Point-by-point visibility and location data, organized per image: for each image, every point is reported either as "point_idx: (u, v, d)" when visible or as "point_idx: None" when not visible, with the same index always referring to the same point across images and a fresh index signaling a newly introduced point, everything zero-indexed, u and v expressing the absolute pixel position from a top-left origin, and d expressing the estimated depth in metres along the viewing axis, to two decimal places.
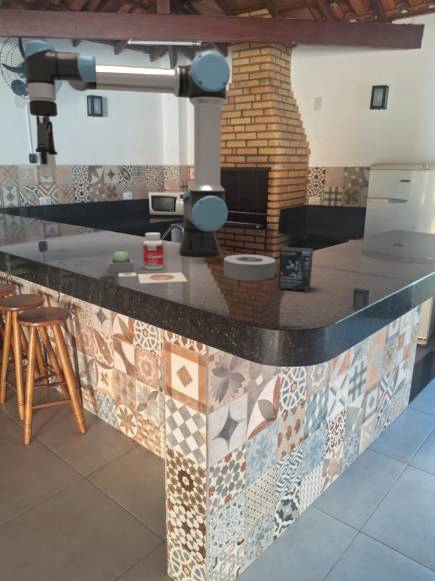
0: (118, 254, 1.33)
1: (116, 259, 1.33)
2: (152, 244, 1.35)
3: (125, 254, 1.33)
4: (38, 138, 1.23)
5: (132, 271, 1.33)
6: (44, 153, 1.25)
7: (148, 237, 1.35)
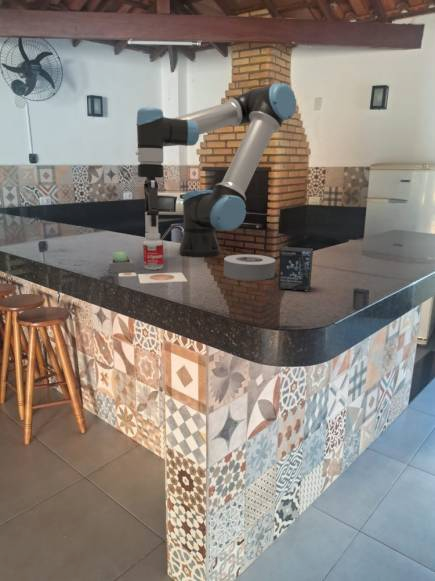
0: (118, 254, 1.33)
1: (116, 259, 1.33)
2: (152, 244, 1.35)
3: (125, 254, 1.33)
4: (150, 202, 1.26)
5: (132, 271, 1.33)
6: (154, 216, 1.28)
7: (148, 237, 1.35)
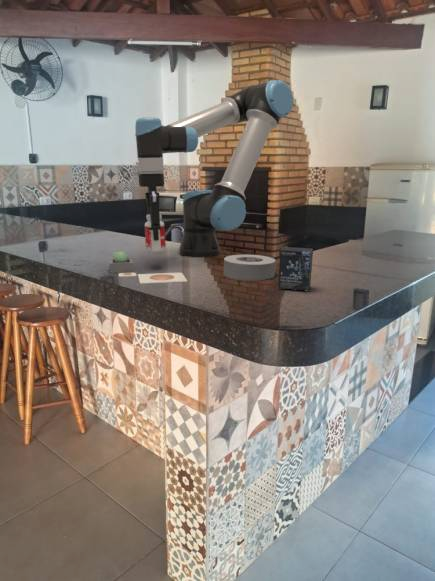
0: (118, 254, 1.33)
1: (116, 259, 1.33)
2: None
3: (125, 254, 1.33)
4: (152, 218, 1.30)
5: (132, 271, 1.33)
6: (156, 231, 1.33)
7: (149, 218, 1.34)
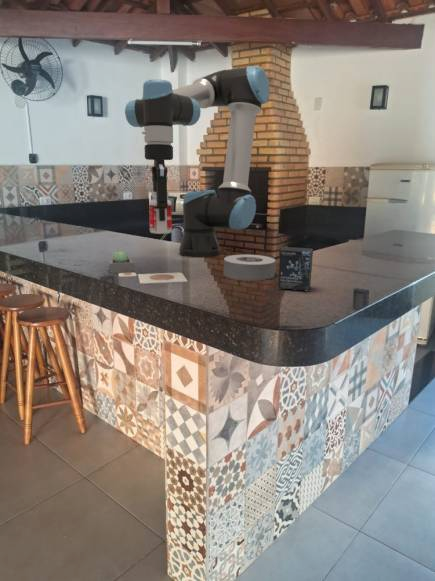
0: (118, 254, 1.33)
1: (116, 259, 1.33)
2: None
3: (125, 254, 1.33)
4: (159, 194, 1.14)
5: (132, 271, 1.33)
6: (163, 210, 1.16)
7: (155, 196, 1.18)
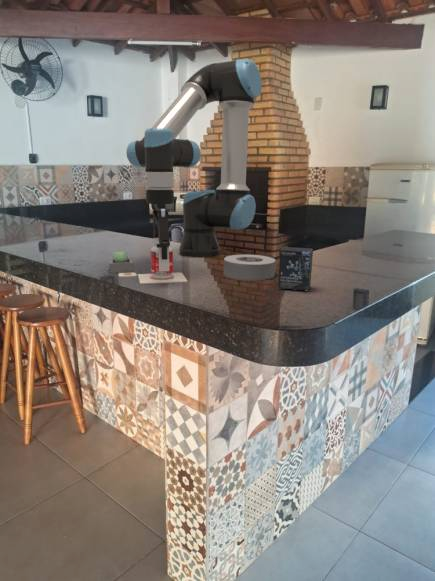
0: (118, 254, 1.33)
1: (116, 259, 1.33)
2: None
3: (125, 254, 1.33)
4: (161, 234, 1.14)
5: (132, 271, 1.33)
6: (165, 248, 1.16)
7: (156, 243, 1.21)
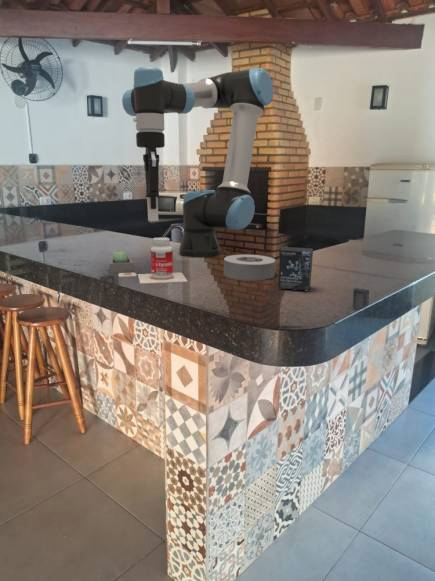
0: (118, 254, 1.33)
1: (116, 259, 1.33)
2: (161, 250, 1.21)
3: (125, 254, 1.33)
4: (150, 184, 1.17)
5: (132, 271, 1.33)
6: (154, 198, 1.21)
7: (156, 243, 1.22)
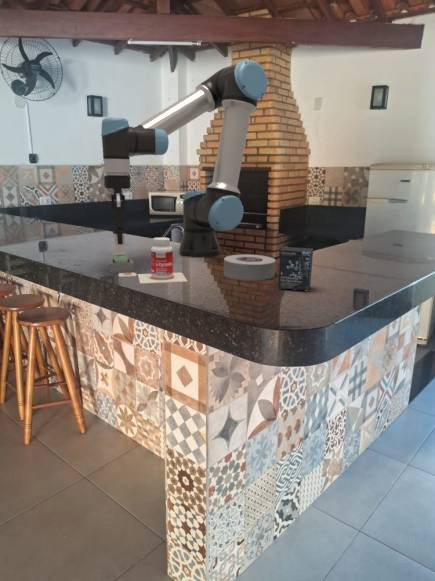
0: (118, 257, 1.33)
1: (116, 262, 1.34)
2: (161, 250, 1.21)
3: (125, 257, 1.34)
4: (116, 223, 1.28)
5: (132, 271, 1.33)
6: (120, 234, 1.31)
7: (156, 243, 1.22)
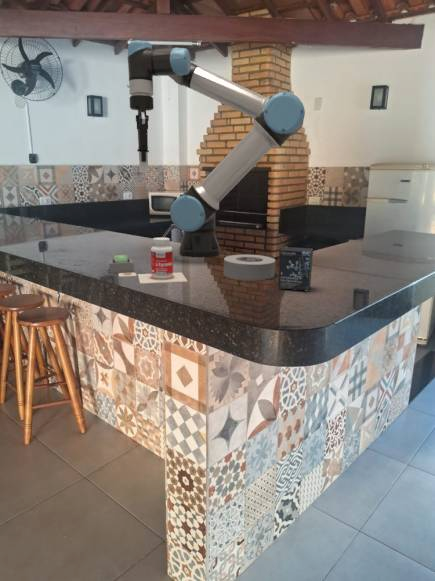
0: (118, 258, 1.33)
1: None
2: (161, 250, 1.21)
3: (125, 258, 1.34)
4: (141, 139, 1.41)
5: (132, 271, 1.33)
6: (144, 152, 1.44)
7: (156, 243, 1.22)
